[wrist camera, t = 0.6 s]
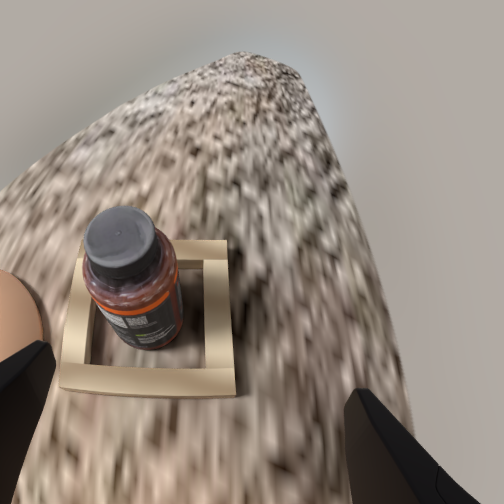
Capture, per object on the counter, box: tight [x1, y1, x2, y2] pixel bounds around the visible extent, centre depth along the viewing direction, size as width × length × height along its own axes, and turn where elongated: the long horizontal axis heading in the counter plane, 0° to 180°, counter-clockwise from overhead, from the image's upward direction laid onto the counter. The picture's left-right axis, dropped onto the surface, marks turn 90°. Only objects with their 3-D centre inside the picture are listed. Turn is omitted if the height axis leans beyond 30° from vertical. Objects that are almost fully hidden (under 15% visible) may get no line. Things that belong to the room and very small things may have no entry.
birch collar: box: [59, 239, 236, 399], centre depth 24 cm, size 13×13×2 cm
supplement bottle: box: [82, 206, 183, 350], centre depth 20 cm, size 6×6×11 cm
